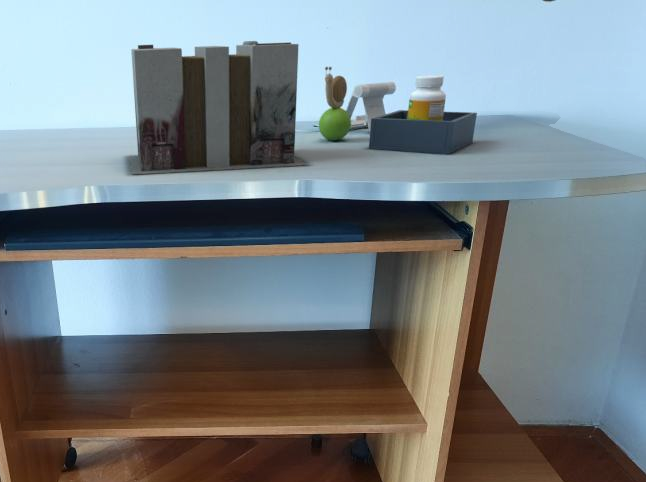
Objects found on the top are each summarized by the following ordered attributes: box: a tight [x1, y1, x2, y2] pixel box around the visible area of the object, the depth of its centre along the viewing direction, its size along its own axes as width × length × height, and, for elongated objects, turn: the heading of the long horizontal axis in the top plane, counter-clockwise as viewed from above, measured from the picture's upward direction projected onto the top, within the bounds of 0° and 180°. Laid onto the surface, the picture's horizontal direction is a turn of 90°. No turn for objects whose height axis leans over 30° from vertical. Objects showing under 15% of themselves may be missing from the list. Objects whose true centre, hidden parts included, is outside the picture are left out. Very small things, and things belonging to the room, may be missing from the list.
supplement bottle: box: [407, 75, 447, 121], centre depth 101 cm, size 5×5×10 cm
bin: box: [368, 109, 478, 155], centre depth 102 cm, size 13×13×5 cm
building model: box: [129, 40, 308, 175], centre depth 94 cm, size 16×25×16 cm, turn 96°
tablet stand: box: [344, 81, 397, 133], centre depth 119 cm, size 9×8×8 cm
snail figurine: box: [318, 66, 352, 142], centre depth 108 cm, size 5×6×12 cm
